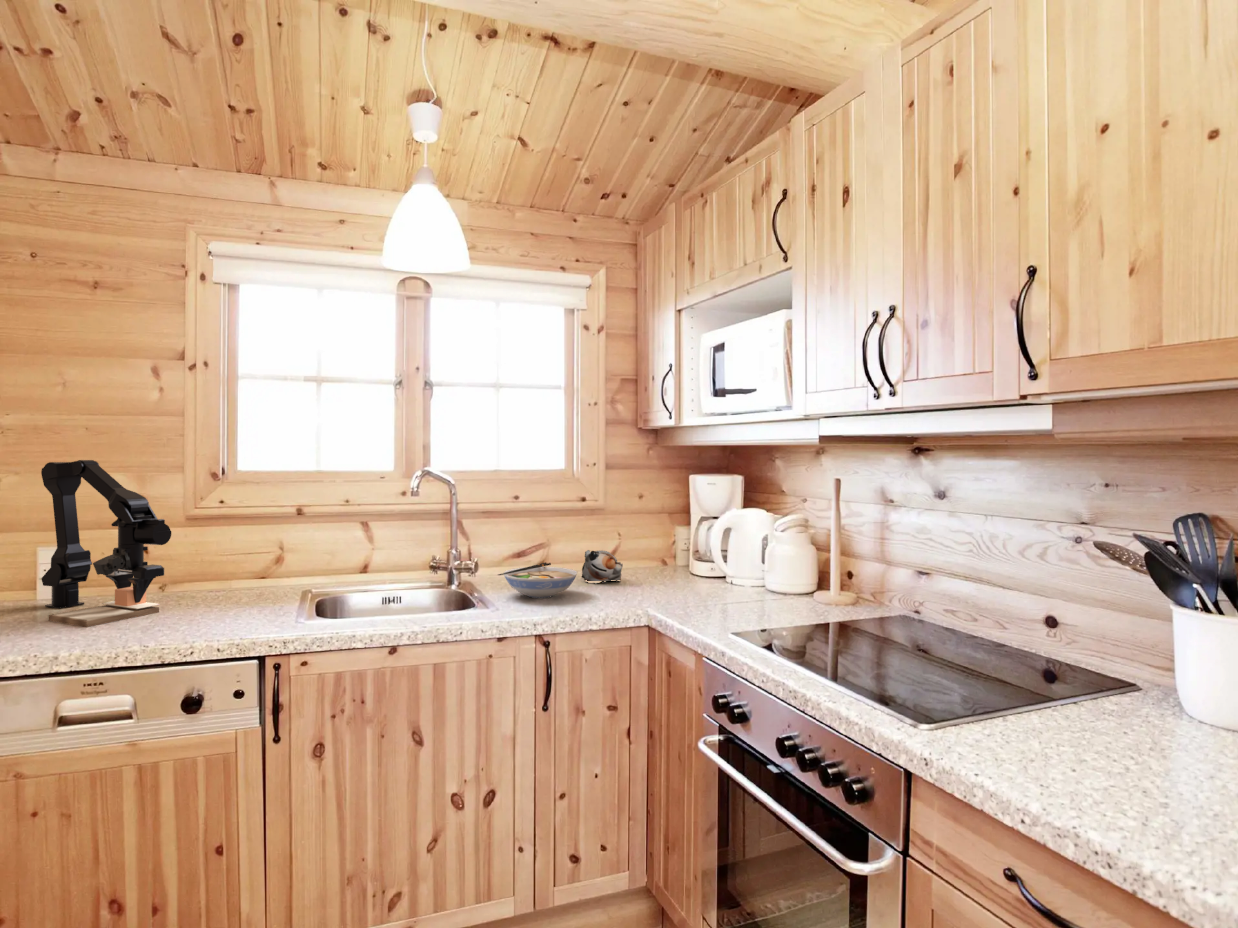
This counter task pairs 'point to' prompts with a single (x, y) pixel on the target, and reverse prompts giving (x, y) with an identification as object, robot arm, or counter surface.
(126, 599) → the butter dish
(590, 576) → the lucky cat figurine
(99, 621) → the board
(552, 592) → the ramen bowl
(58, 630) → the counter surface
